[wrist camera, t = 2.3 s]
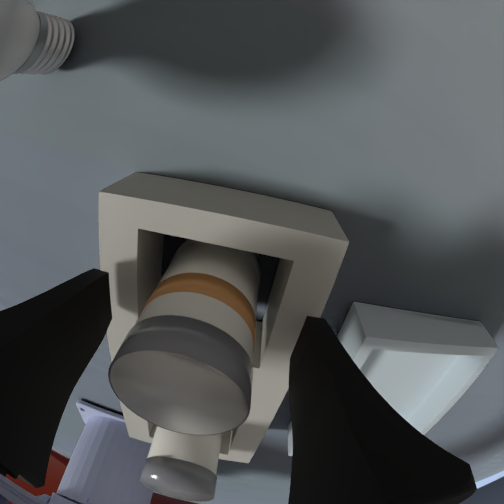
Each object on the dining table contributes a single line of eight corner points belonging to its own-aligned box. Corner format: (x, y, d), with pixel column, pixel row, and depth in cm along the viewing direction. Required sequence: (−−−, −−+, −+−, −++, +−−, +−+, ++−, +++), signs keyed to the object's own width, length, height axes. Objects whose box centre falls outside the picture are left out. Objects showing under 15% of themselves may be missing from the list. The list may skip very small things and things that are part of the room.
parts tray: (396, 428, 19) (403, 453, 16) (287, 426, 18) (288, 455, 16) (480, 321, 14) (499, 347, 11) (353, 301, 13) (366, 336, 11)
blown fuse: (251, 308, 14) (237, 444, 8) (173, 292, 14) (117, 415, 7) (269, 236, 12) (265, 370, 6) (180, 218, 12) (99, 329, 6)
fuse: (224, 411, 18) (210, 505, 11) (169, 399, 18) (143, 489, 11) (233, 378, 16) (217, 489, 10) (170, 365, 16) (135, 469, 10)
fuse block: (251, 427, 19) (248, 463, 16) (141, 403, 18) (129, 436, 16) (331, 211, 12) (349, 242, 9) (135, 172, 11) (98, 191, 9)
